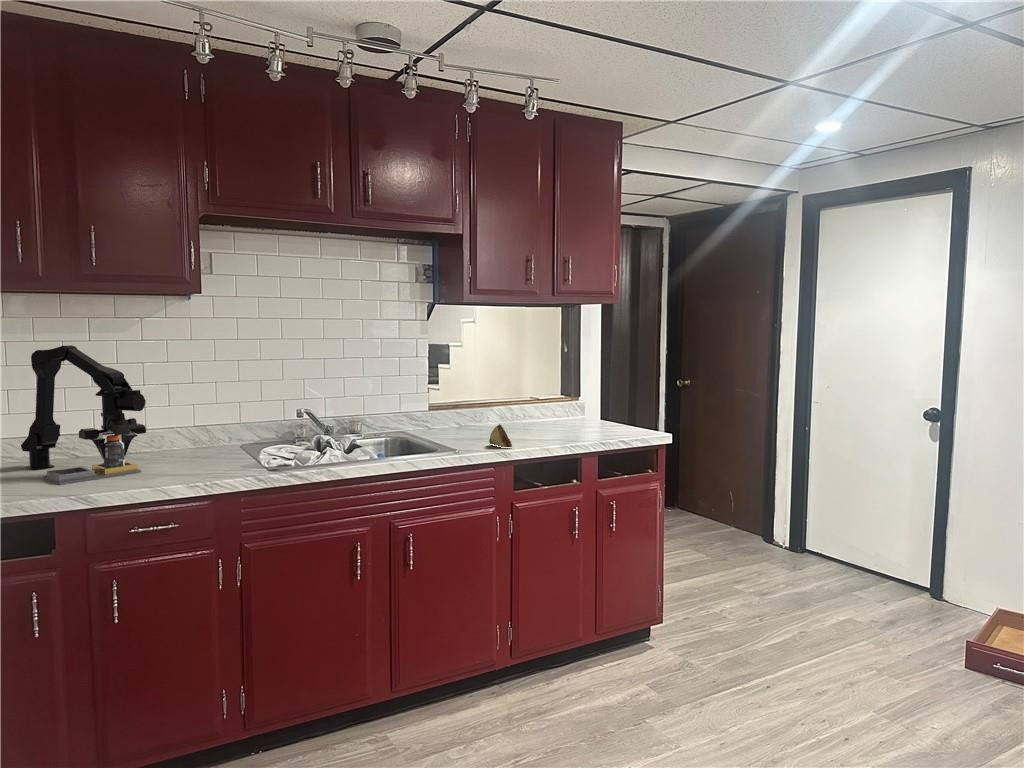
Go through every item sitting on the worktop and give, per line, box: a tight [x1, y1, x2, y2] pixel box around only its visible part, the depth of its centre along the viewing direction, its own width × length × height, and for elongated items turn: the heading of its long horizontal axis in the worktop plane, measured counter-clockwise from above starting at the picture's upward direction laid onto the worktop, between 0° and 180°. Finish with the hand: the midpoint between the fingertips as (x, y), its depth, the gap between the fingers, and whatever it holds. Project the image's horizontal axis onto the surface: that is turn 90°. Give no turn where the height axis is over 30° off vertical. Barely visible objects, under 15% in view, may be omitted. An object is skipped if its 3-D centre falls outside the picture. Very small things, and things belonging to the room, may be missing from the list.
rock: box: [488, 423, 513, 447], centre depth 289 cm, size 11×9×10 cm
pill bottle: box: [103, 434, 126, 468], centre depth 235 cm, size 6×6×11 cm
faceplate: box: [42, 460, 142, 486], centre depth 230 cm, size 13×24×2 cm, turn 141°
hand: (114, 457), depth 235 cm, fingers closed on pill bottle, 6 cm apart
